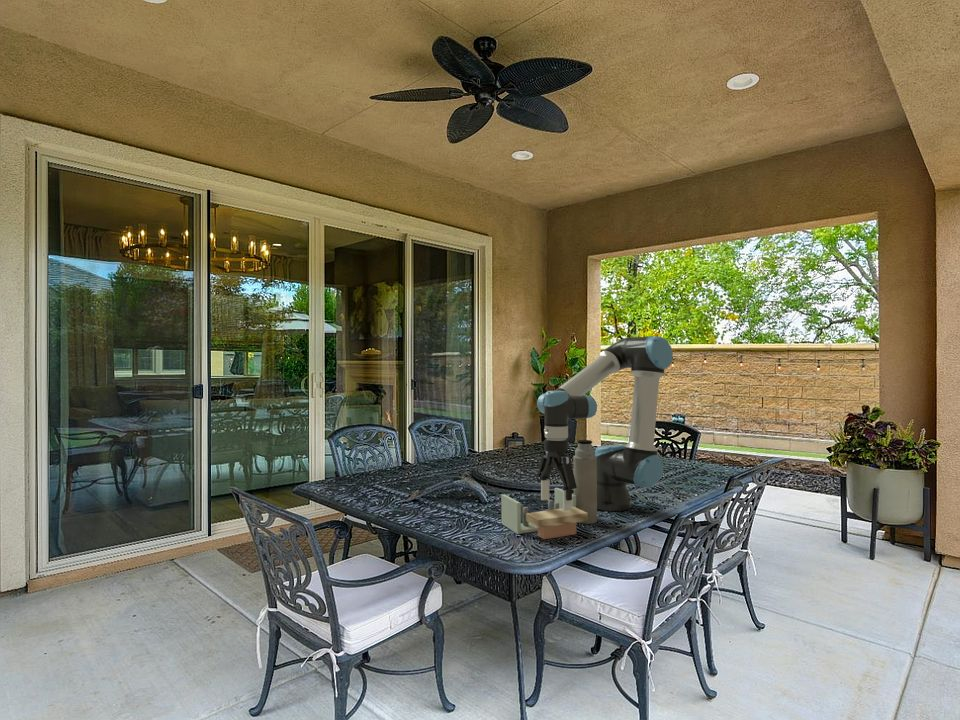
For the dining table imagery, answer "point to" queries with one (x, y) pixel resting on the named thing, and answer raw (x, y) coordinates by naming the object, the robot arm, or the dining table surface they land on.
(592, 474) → the thermos bottle
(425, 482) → the dining table surface
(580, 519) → the oak shelf board
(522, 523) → the peg frame
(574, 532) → the terracotta brick
